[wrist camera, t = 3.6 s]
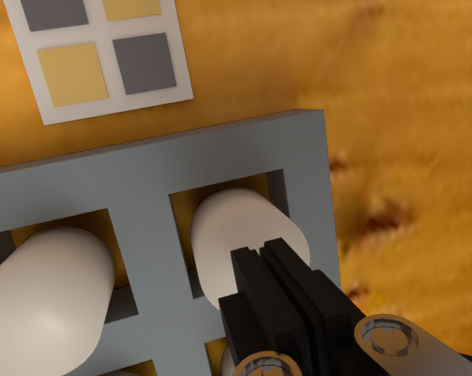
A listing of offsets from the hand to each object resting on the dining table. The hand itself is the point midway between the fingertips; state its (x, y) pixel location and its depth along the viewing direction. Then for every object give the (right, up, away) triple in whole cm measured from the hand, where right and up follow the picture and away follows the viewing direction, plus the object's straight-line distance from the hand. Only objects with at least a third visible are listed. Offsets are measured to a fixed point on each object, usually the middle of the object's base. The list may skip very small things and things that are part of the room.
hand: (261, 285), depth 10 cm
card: (-7, +10, +5) cm, 13 cm away
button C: (-9, -1, +5) cm, 10 cm away
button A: (-1, +1, +6) cm, 6 cm away
